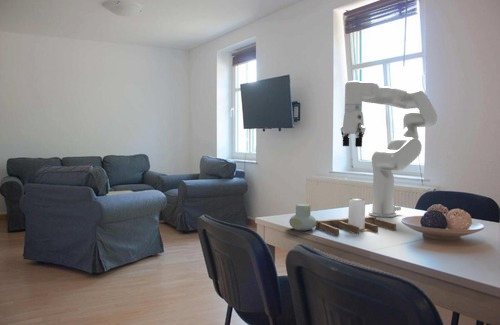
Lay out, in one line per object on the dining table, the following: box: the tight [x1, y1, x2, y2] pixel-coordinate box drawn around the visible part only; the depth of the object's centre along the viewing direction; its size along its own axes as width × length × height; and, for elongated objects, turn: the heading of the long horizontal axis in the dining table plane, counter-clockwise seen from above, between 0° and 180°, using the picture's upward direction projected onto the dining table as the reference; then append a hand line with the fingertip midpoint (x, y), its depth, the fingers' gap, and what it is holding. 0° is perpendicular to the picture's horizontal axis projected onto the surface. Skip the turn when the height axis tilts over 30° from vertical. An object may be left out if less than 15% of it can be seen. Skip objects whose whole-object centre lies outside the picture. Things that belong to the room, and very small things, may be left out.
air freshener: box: [288, 203, 317, 232], centre depth 163 cm, size 11×8×10 cm
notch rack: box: [314, 215, 397, 237], centre depth 165 cm, size 29×15×3 cm, turn 111°
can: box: [347, 197, 366, 230], centre depth 165 cm, size 6×6×12 cm
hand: (352, 146), depth 185 cm, fingers open, 9 cm apart
